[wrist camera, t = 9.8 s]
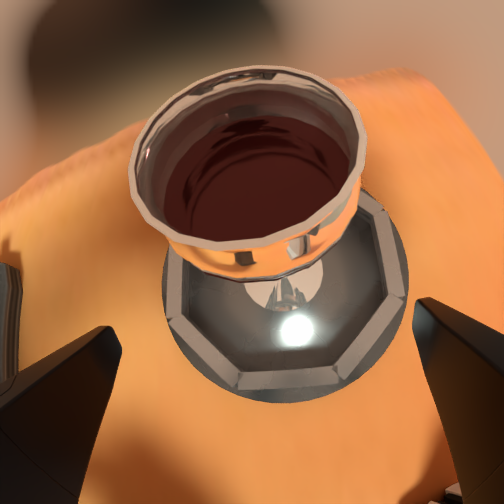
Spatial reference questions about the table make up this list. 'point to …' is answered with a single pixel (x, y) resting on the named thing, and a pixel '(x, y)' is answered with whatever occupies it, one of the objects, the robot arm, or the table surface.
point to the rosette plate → (295, 318)
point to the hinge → (451, 495)
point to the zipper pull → (9, 320)
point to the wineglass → (253, 177)
